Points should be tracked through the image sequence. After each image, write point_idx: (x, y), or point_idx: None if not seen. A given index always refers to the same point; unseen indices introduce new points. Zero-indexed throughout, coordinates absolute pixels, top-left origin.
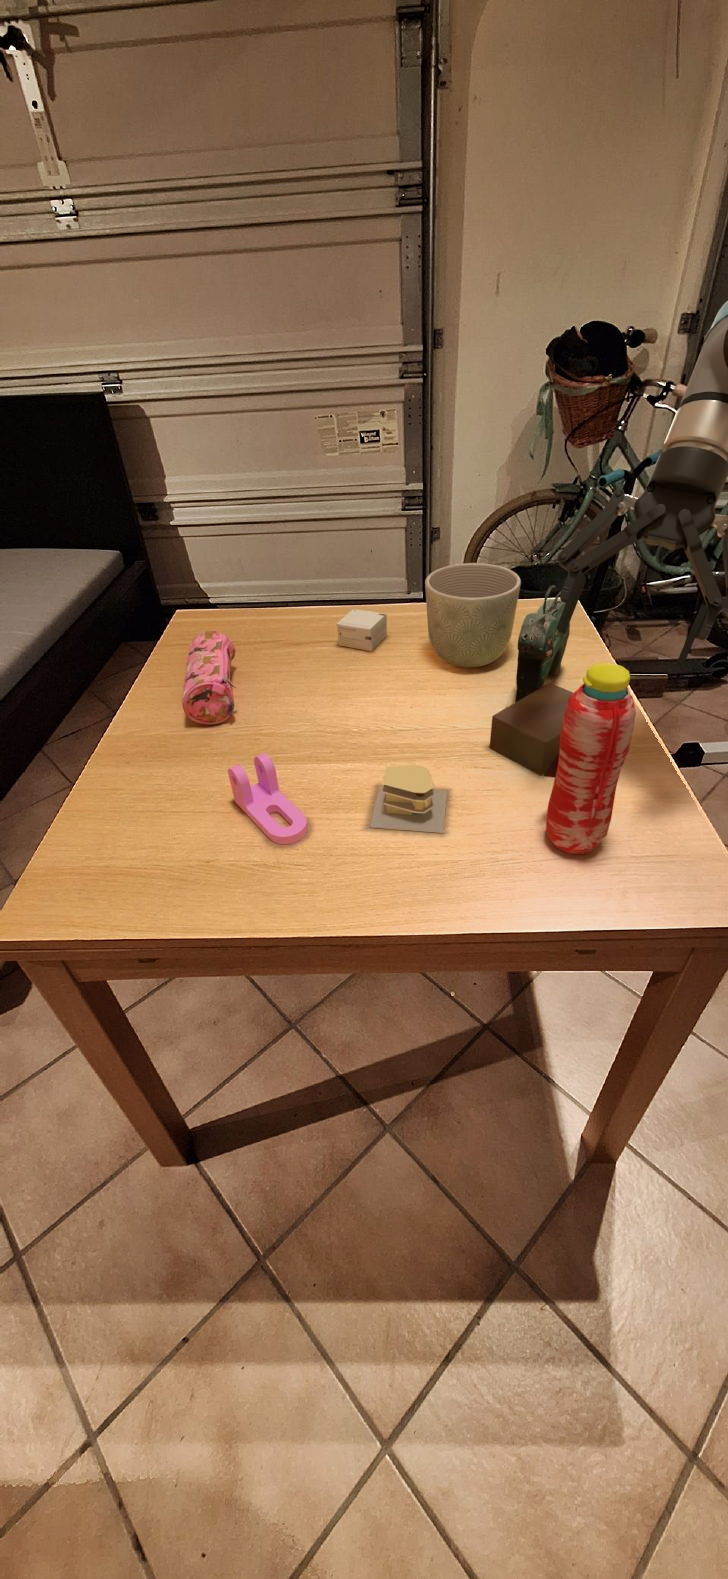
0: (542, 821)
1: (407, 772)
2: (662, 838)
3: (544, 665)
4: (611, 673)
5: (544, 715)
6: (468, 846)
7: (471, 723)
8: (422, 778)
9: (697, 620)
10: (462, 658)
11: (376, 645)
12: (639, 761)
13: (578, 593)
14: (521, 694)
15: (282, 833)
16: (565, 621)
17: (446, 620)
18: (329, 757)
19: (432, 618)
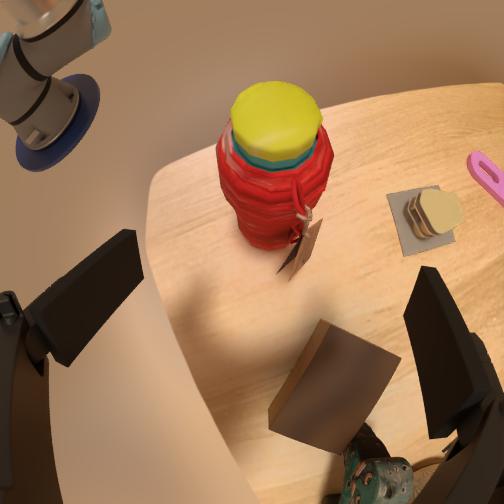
0: None
1: (447, 218)
2: (187, 255)
3: (356, 465)
4: (269, 96)
5: (341, 384)
6: (360, 184)
7: (407, 384)
8: (433, 212)
9: (64, 283)
10: (430, 467)
11: None
12: (217, 379)
13: (442, 365)
14: (368, 433)
15: (477, 154)
16: (428, 279)
17: None
18: (497, 268)
19: None
